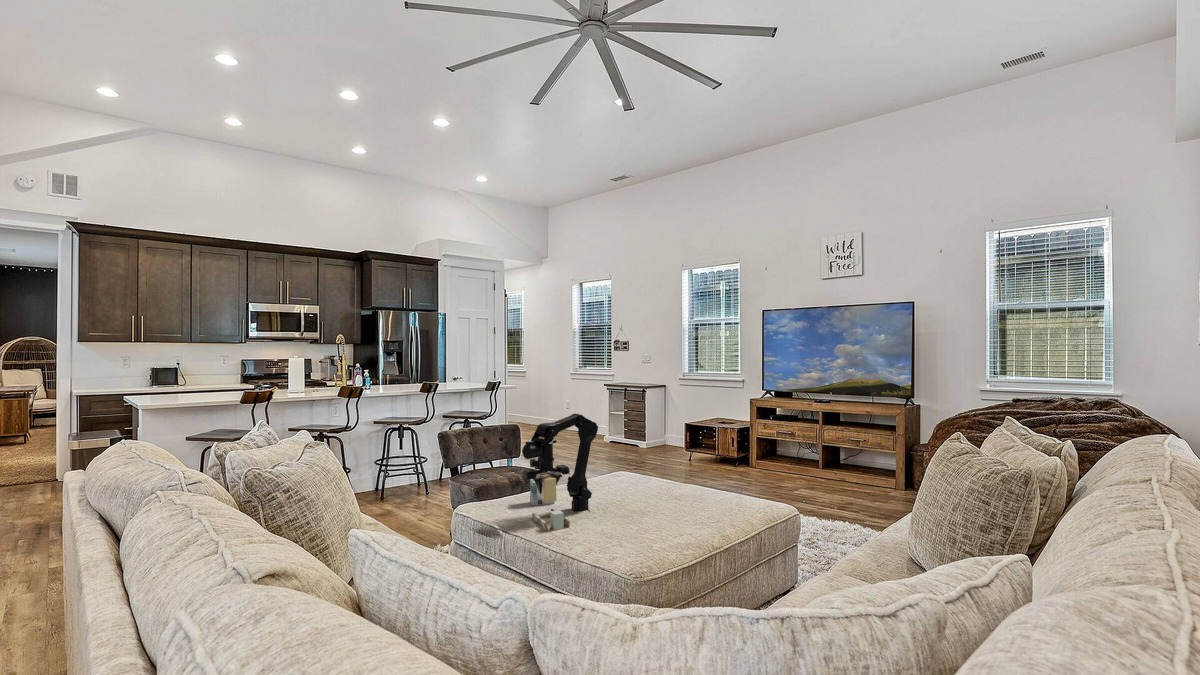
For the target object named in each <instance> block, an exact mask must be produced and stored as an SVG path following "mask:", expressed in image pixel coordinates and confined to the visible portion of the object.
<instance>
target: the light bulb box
mask: <svg viewBox="0 0 1200 675" xmlns="http://www.w3.org/2000/svg"><path fill="white" fill-rule="evenodd" d="M529 492H530V493H529V494H530V495H529V500H530V501H529V502H530V505H531V506H532V507H533V505H535V506H545V505H546V504H547V505H555V503H556V501H551V502H543V501H542V500H540V499H539V498H537V485H536V483H535V481H534V480H533V479H529ZM547 505H546V506H547Z"/></svg>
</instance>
